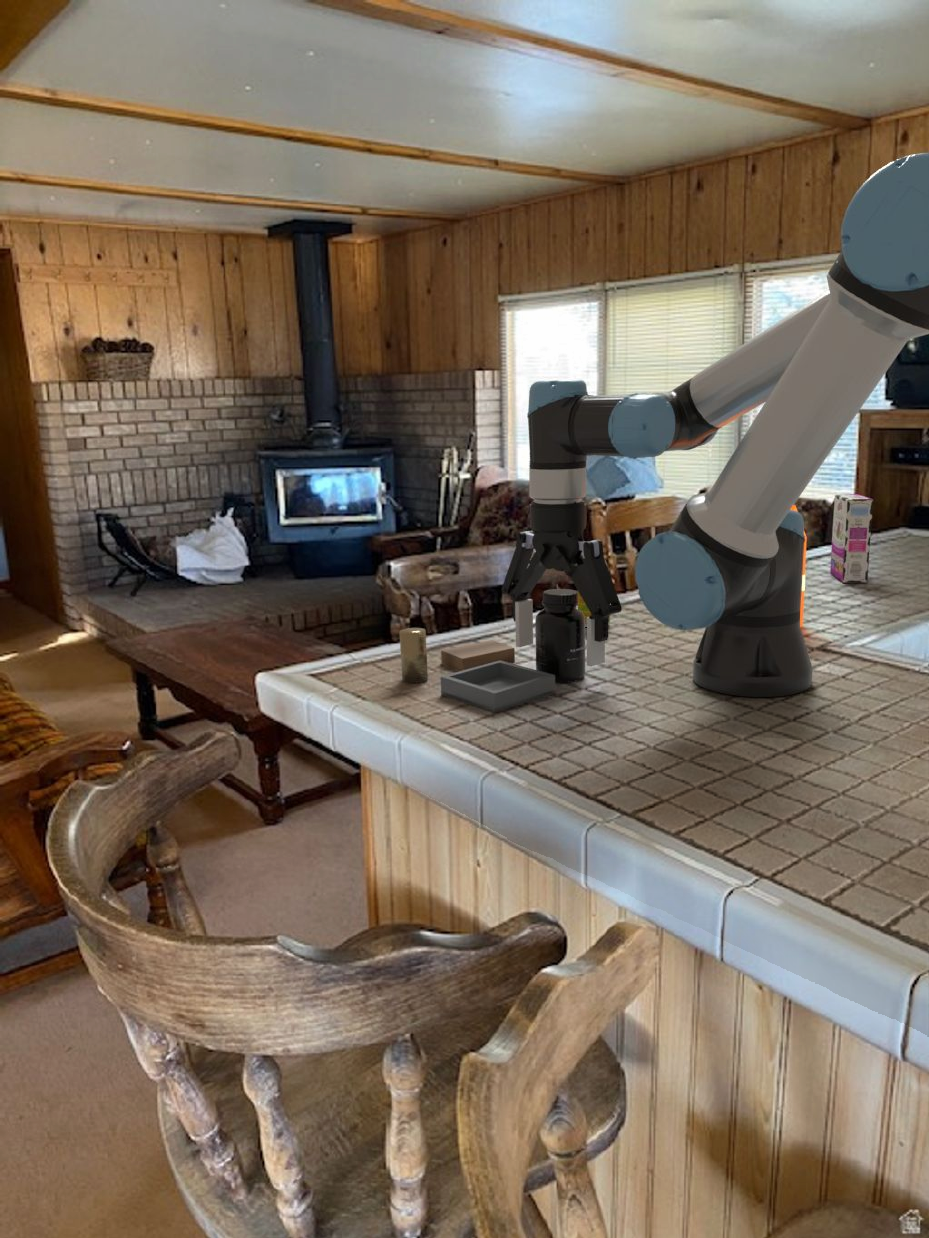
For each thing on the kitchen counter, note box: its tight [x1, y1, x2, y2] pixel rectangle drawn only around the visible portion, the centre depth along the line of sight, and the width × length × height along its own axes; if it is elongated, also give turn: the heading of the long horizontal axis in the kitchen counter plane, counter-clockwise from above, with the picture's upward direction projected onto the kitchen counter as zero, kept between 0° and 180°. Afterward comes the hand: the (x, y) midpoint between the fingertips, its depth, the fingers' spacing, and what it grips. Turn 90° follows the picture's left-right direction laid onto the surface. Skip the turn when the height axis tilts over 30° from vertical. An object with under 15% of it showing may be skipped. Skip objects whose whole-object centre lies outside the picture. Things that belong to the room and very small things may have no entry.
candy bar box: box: [829, 493, 874, 584], centre depth 187 cm, size 11×5×16 cm, turn 172°
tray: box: [440, 660, 556, 713], centre depth 124 cm, size 11×11×2 cm
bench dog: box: [399, 627, 429, 684], centre depth 132 cm, size 4×4×7 cm
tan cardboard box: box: [440, 639, 516, 672], centre depth 139 cm, size 6×9×2 cm, turn 122°
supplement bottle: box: [534, 588, 586, 684], centre depth 130 cm, size 7×7×12 cm
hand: (558, 654), depth 131 cm, fingers open, 13 cm apart
